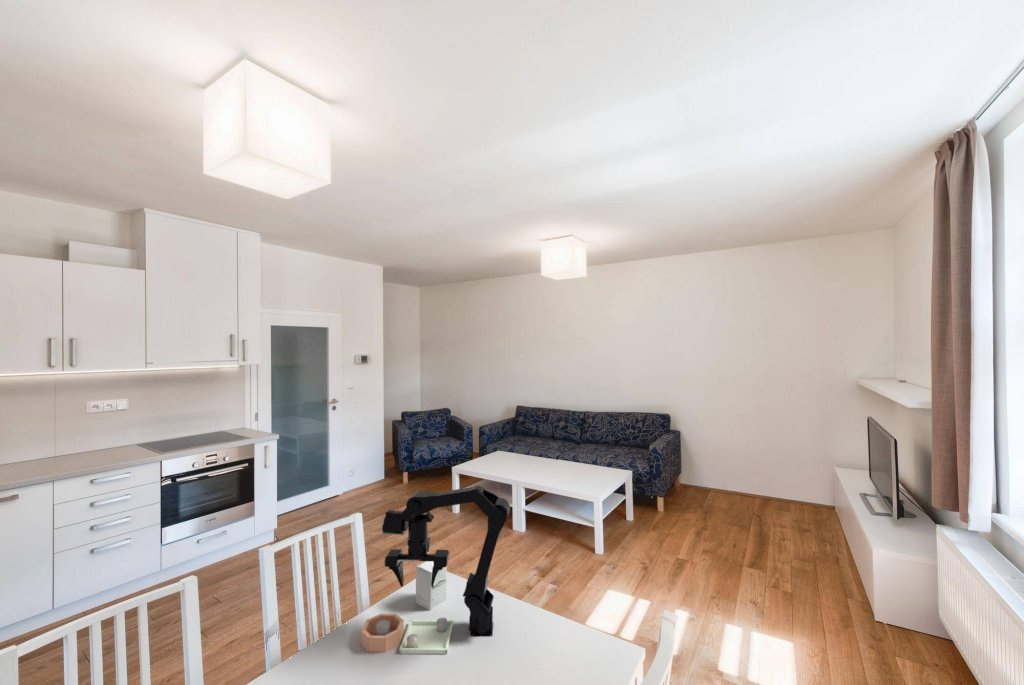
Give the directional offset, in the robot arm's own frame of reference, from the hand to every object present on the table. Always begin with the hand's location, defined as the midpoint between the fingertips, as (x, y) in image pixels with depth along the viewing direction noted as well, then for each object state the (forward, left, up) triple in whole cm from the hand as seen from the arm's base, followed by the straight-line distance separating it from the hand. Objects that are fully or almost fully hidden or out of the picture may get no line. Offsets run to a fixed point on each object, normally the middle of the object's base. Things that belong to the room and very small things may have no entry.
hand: (417, 586), depth 130 cm
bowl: (+8, +6, -12) cm, 16 cm away
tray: (-5, +6, -12) cm, 14 cm away
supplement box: (-2, -12, -12) cm, 17 cm away
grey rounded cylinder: (+8, +6, -11) cm, 16 cm away
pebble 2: (-8, +2, -12) cm, 14 cm away
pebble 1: (-1, +10, -12) cm, 15 cm away
